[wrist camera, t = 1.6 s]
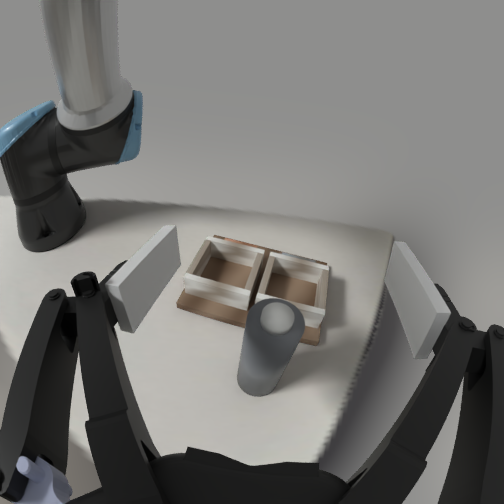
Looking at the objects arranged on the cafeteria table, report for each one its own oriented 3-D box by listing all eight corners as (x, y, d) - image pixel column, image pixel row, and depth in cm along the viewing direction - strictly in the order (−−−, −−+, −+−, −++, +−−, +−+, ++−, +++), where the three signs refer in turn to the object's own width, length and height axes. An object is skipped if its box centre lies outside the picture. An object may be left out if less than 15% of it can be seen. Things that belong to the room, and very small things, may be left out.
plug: (232, 390, 27) (239, 333, 18) (243, 356, 30) (255, 285, 21) (272, 400, 26) (303, 348, 18) (280, 366, 29) (311, 299, 21)
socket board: (177, 307, 34) (173, 287, 31) (214, 239, 44) (214, 219, 41) (316, 345, 32) (326, 329, 29) (325, 267, 42) (332, 248, 39)
